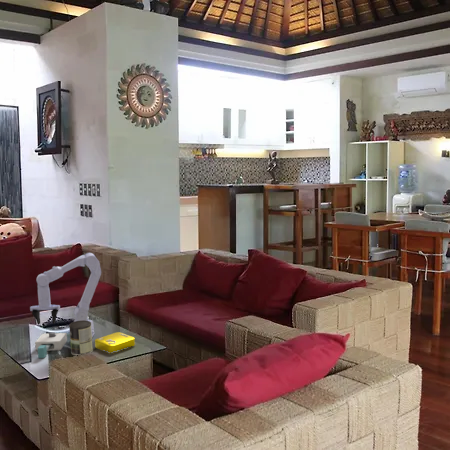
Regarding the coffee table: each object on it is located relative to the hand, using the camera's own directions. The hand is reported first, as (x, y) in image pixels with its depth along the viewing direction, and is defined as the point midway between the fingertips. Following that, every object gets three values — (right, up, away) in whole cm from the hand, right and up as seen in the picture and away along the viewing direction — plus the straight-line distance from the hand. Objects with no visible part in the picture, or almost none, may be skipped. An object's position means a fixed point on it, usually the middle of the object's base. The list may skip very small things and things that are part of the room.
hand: (46, 323), depth 283 cm
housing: (+4, -10, -4) cm, 12 cm away
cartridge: (+4, -12, -13) cm, 18 cm away
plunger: (+4, -7, -3) cm, 8 cm away
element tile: (+36, -10, -7) cm, 38 cm away
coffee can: (+22, -11, -13) cm, 28 cm away
